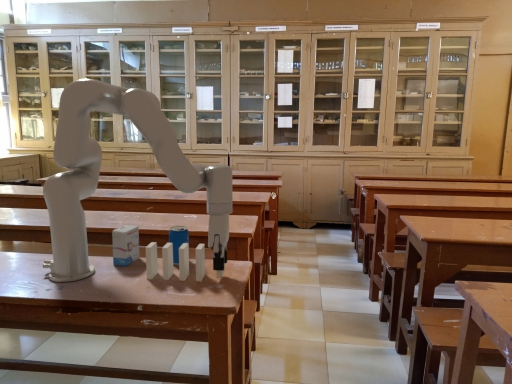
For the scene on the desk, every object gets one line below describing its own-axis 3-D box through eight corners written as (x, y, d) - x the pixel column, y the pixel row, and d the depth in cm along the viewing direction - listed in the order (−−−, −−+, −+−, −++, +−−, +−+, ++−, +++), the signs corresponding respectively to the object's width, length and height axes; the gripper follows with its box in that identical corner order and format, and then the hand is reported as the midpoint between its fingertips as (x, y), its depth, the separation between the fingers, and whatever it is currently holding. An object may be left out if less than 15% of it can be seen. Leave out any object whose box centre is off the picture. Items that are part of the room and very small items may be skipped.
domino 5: (216, 278, 103) (216, 245, 101) (219, 271, 108) (219, 240, 106) (221, 278, 103) (221, 245, 101) (224, 271, 108) (224, 240, 106)
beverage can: (182, 266, 114) (181, 231, 112) (166, 264, 116) (164, 229, 114) (192, 260, 120) (192, 226, 118) (176, 257, 122) (175, 224, 120)
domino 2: (163, 279, 104) (162, 247, 102) (168, 273, 109) (167, 242, 107) (168, 280, 104) (167, 248, 102) (173, 273, 109) (172, 242, 107)
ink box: (126, 266, 114) (124, 231, 112) (112, 265, 115) (110, 230, 113) (140, 257, 122) (138, 225, 120) (127, 256, 123) (125, 224, 121)
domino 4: (196, 281, 103) (195, 249, 102) (199, 274, 108) (199, 243, 107) (201, 281, 103) (200, 249, 102) (204, 274, 108) (204, 243, 106)
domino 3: (179, 280, 104) (178, 248, 102) (184, 273, 109) (183, 243, 107) (184, 280, 104) (184, 248, 102) (189, 274, 108) (188, 243, 107)
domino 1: (146, 279, 104) (145, 247, 103) (153, 272, 109) (151, 242, 108) (152, 279, 104) (150, 247, 103) (157, 272, 109) (156, 242, 107)
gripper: (212, 201, 110) (213, 256, 113) (200, 213, 93) (201, 277, 97) (236, 202, 110) (236, 256, 113) (228, 214, 93) (228, 278, 96)
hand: (220, 265), depth 105 cm, fingers closed on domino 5, 4 cm apart
